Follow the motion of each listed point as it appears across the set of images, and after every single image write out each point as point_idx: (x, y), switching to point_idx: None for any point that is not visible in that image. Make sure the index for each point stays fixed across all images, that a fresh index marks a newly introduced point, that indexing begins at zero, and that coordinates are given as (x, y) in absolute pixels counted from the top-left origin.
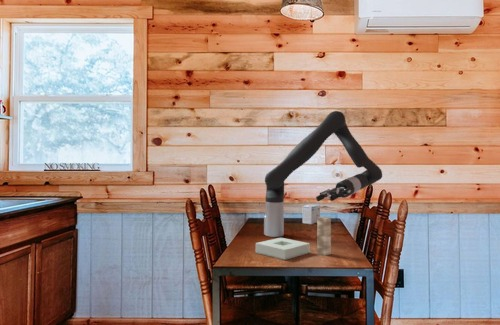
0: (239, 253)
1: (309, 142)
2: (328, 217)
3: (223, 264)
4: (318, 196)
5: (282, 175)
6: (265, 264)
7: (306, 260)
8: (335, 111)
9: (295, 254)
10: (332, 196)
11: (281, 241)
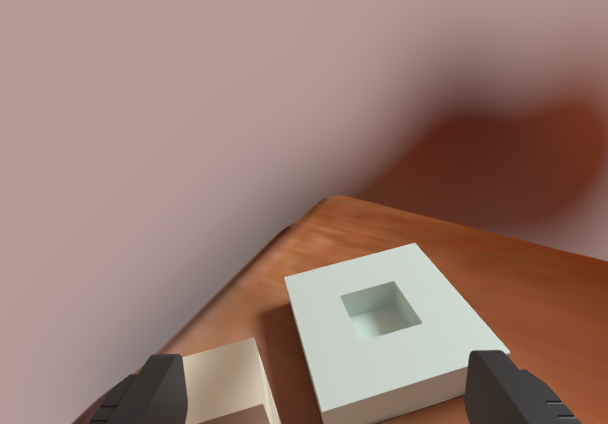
0: (420, 237)
1: None
2: (200, 417)
3: (335, 200)
4: (489, 375)
5: None
6: (286, 253)
7: None
8: None
9: (300, 340)
10: (130, 381)
11: (421, 323)
